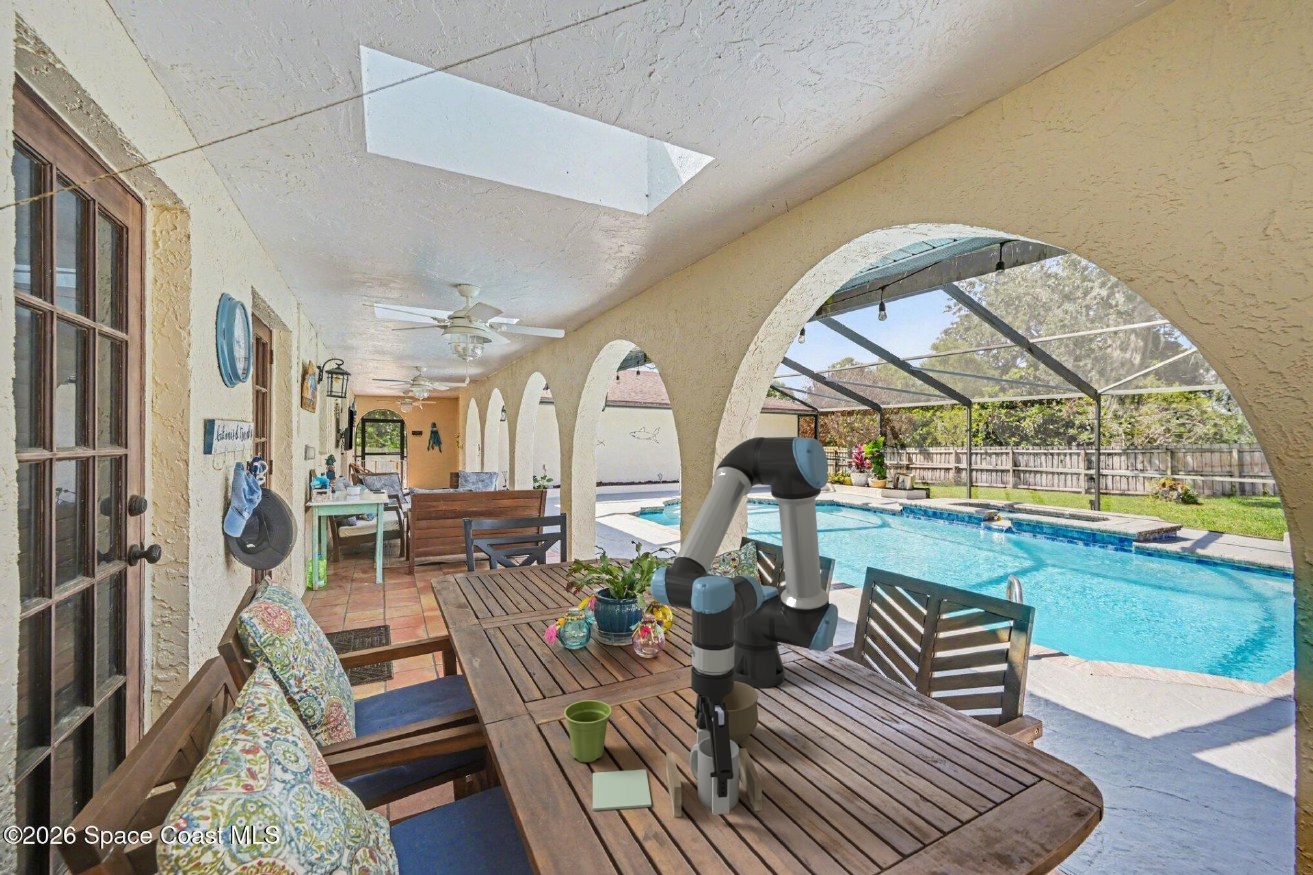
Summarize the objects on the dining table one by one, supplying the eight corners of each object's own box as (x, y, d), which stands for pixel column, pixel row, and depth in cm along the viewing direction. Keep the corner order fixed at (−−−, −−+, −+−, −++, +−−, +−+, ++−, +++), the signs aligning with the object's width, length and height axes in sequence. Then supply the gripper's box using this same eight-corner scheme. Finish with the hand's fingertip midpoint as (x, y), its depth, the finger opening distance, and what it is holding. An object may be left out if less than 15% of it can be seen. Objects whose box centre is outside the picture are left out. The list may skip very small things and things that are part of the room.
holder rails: (745, 775, 104) (745, 748, 104) (761, 810, 94) (761, 781, 94) (666, 780, 102) (666, 753, 102) (674, 817, 92) (674, 787, 92)
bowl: (686, 731, 119) (687, 685, 119) (737, 720, 124) (737, 675, 124) (715, 763, 107) (716, 712, 107) (770, 749, 112) (770, 700, 112)
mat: (645, 771, 104) (645, 769, 104) (651, 806, 95) (651, 804, 95) (592, 775, 103) (592, 772, 103) (592, 810, 93) (592, 808, 93)
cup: (721, 818, 92) (721, 765, 92) (677, 791, 99) (677, 741, 99) (747, 798, 97) (747, 747, 97) (703, 774, 104) (703, 726, 104)
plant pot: (565, 742, 114) (566, 700, 114) (611, 740, 115) (611, 698, 115) (561, 769, 105) (562, 723, 105) (611, 767, 106) (611, 721, 106)
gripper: (680, 641, 110) (679, 748, 110) (706, 701, 85) (705, 839, 85) (717, 640, 111) (716, 746, 111) (753, 698, 86) (752, 835, 86)
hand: (711, 787), depth 98 cm, fingers open, 13 cm apart
